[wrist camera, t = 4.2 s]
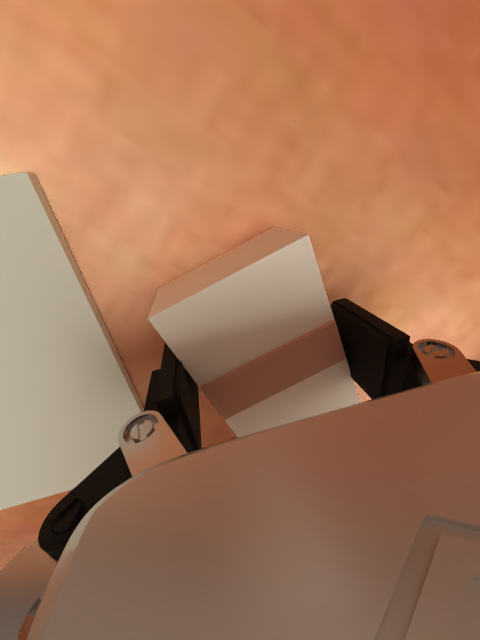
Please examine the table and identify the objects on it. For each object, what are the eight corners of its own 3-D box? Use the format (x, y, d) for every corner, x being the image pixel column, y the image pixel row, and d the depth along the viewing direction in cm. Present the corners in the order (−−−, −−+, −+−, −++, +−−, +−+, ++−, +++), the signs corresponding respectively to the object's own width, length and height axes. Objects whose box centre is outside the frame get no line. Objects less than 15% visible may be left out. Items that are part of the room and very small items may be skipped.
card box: (325, 364, 15) (363, 408, 12) (240, 407, 15) (254, 462, 12) (274, 226, 11) (311, 235, 8) (158, 287, 11) (146, 321, 8)
